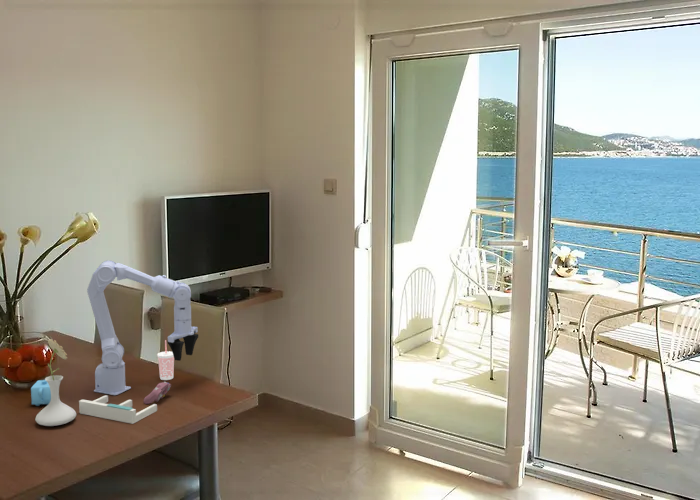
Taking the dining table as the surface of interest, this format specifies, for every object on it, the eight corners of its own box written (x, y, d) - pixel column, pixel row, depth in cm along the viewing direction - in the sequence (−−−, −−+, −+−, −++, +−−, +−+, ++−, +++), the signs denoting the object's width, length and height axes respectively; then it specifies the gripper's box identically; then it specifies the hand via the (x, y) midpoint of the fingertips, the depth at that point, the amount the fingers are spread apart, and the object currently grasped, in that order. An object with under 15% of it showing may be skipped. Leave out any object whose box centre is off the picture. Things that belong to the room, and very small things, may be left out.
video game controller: (153, 410, 223) (161, 392, 221) (141, 402, 223) (149, 384, 222) (167, 399, 232) (175, 382, 231) (155, 392, 233) (164, 375, 231)
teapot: (42, 395, 230) (40, 373, 229) (61, 395, 231) (60, 373, 230) (30, 409, 218) (29, 386, 217) (50, 408, 219) (49, 385, 218)
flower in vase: (78, 425, 205) (74, 344, 202) (36, 432, 200) (31, 348, 197) (74, 410, 217) (70, 333, 213) (34, 416, 212) (30, 337, 208)
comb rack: (79, 413, 215) (78, 400, 214) (105, 401, 225) (104, 388, 225) (132, 423, 207) (132, 410, 207) (157, 410, 218) (156, 397, 217)
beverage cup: (154, 380, 246) (153, 341, 244) (162, 374, 252) (161, 337, 250) (171, 381, 245) (170, 343, 243) (178, 375, 251) (177, 338, 249)
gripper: (179, 325, 228) (180, 364, 230) (204, 315, 242) (205, 353, 244) (162, 322, 231) (163, 362, 233) (187, 313, 244) (188, 350, 246)
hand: (183, 357), depth 239 cm, fingers open, 6 cm apart
